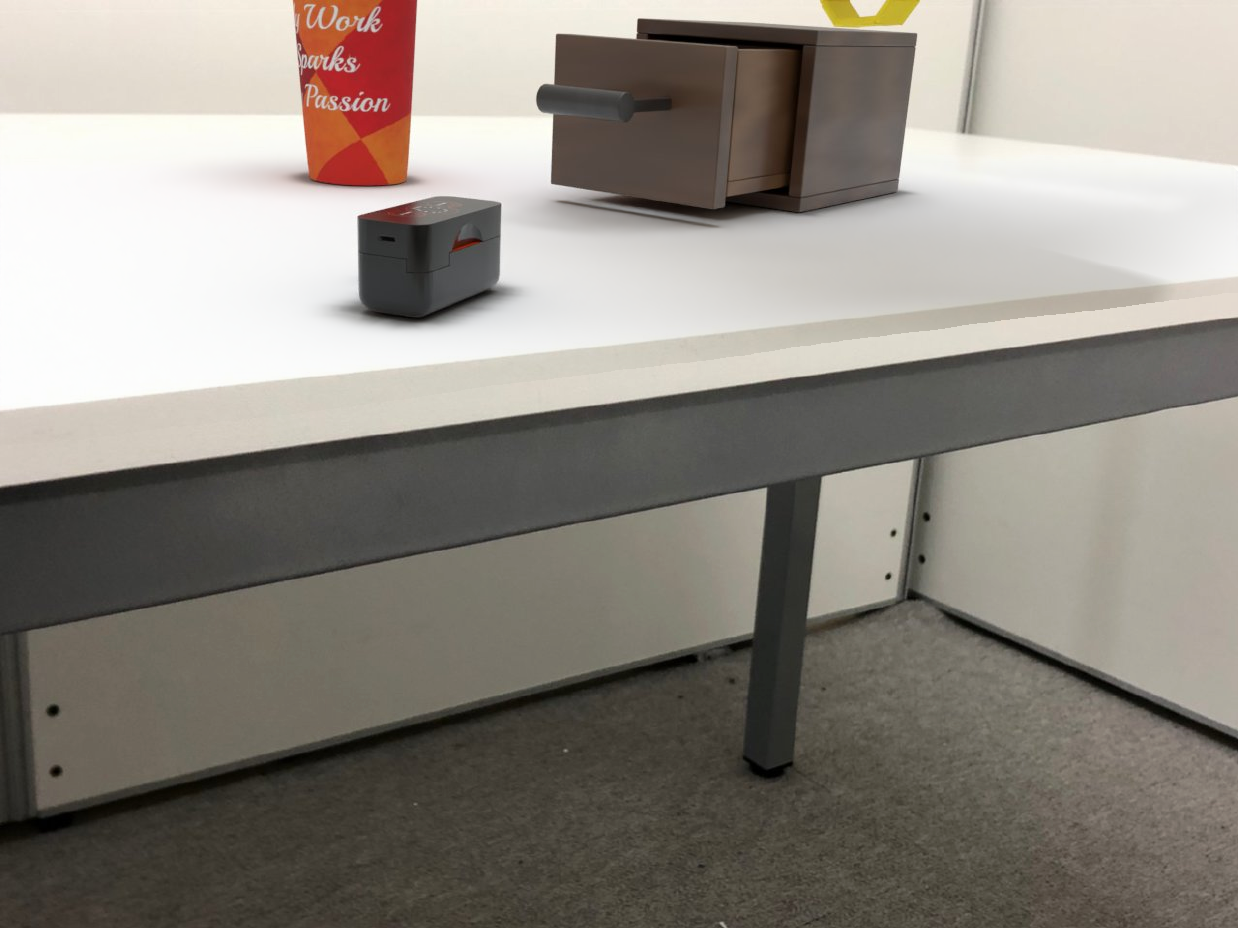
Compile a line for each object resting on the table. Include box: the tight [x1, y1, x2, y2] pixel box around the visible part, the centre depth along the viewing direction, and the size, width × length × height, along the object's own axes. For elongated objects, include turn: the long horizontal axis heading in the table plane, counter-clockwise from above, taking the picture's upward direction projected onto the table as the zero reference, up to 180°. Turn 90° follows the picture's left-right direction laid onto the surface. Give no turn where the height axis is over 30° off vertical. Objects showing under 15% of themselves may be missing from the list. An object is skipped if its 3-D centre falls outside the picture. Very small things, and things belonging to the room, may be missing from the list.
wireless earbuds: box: [356, 195, 502, 318], centre depth 46 cm, size 5×7×3 cm, turn 159°
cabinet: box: [635, 17, 918, 213], centre depth 77 cm, size 14×12×10 cm
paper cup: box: [292, 0, 418, 187], centre depth 71 cm, size 8×8×14 cm
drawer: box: [535, 33, 803, 210], centre depth 68 cm, size 17×10×8 cm, turn 145°
